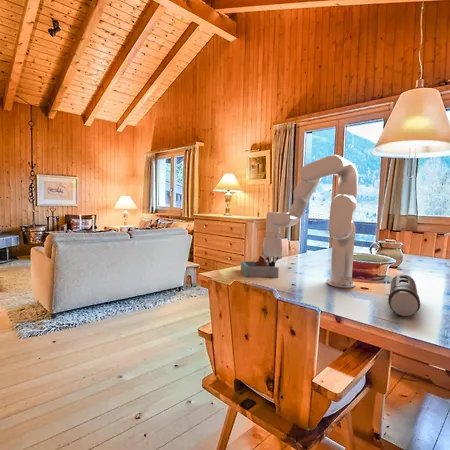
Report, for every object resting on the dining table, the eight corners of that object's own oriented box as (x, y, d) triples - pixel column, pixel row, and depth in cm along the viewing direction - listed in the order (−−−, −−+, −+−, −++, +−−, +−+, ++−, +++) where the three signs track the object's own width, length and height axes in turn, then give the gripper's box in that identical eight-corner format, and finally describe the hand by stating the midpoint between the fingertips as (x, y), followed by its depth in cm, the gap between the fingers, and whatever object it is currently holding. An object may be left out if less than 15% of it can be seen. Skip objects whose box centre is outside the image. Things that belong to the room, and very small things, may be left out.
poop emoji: (249, 274, 163) (250, 256, 162) (253, 271, 171) (254, 254, 170) (269, 276, 160) (269, 258, 159) (271, 272, 168) (272, 255, 167)
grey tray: (279, 277, 158) (279, 267, 158) (246, 277, 156) (246, 267, 156) (269, 269, 176) (269, 260, 176) (240, 269, 174) (240, 260, 174)
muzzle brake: (415, 300, 128) (417, 275, 127) (419, 323, 103) (421, 292, 103) (389, 296, 132) (390, 272, 132) (386, 317, 108) (389, 288, 107)
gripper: (284, 234, 170) (283, 268, 171) (257, 234, 168) (256, 268, 169) (288, 236, 162) (287, 271, 164) (260, 236, 160) (259, 271, 162)
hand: (271, 269), depth 167 cm, fingers closed
